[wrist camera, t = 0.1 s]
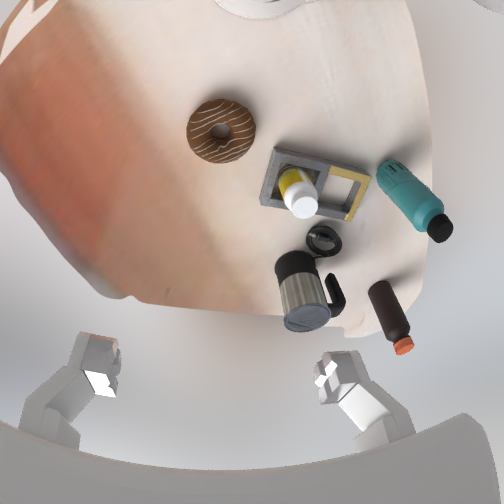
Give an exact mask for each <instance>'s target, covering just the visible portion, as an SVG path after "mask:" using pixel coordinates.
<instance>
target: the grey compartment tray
mask: <svg viewBox="0 0 504 504" xmlns="http://www.w3.org/2000/svg"><path fill="white" fill-rule="evenodd" d="M281 162H282V163H287V164H291V165H296V166H301V167H305V168H310V169H314V170H315V171H314V174H313V176H312V179H311V182H312V184H313V185H314V187H315V189H316V191H317V203H318V209H317V211H316V213H315V214H316V215H322V216H327V217H333V218H338V219H343V220H345V221H349V222H351V221H352V219H353V216H354V214H355V212H356V210H357V208H358V206H359V204H360V202H361V200H362V197H363V195H364V193H365V191H366V189H367V187H368V184H369V182H370V180H371V178H372V177H371V176H370V175H369V174H368V173H367V172H366V171H365V170H362V169H359V168H355V167H352V166H348V165H345V164H341V163H338V162H334V161H330V160H326V159H323V158H319V157H315V156H311V155H307V154H302V153H298V152H294V151H289V150H285V149H280V148H275V147H273V151H272V155H271V158H270V162H269V165H268V169H267V172H266V176H265V180H264V183H263V187H262V190H261V194H260V203H261V205H263V206H269V207H276V208H282V209H288V207H287V206H286V205H285V202H284V200H283V197H282V194H277V193H272V191H273V187H274V184H275V181H276V177H277V174H278V171H279V167H280V164H281ZM328 173H329V174H332V175H336V176H340V177H344V178H347V179H351V180H355V182H354V184H353V186H352V189H351V191H350V193H349V196H348V198H347V200H346V202H345V205H344V206H339V205H334V204H329V203H325V202H320V201H318V199H319V196H320V194H321V191H322V189H323V186H324V183H325V181H326V178H327V176H328ZM288 210H290V209H288Z"/></svg>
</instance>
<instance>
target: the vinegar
mask: <svg viewBox="0 0 504 504" xmlns="http://www.w3.org/2000/svg"><path fill="white" fill-rule="evenodd" d="M368 295H369V298H370V300H371V302H372V305H373V307H374V309H375V312H376V314H377V316H378V319H379V321H380V324H381V326H382V329H383V331H384V333H385V336H386V338H387V340H389V341H392V342H393V343H394V344H393V346H394V349H395V352H396V354H397V355H402V354H405V353H407V352H409V351H410V350H411V349H412V348H413V347H414V344H413V341H412V339H411V337H410V336H409V335H408V333H409V331H410V325H409V323H408V321H407V319H406V316H405V315H404V312H403V310H402V308H401V306H400V304H399V302H398V300H397V298H396V296H395V294H394V292H393V290H392V288H391V286H390V284H389V282H387V281H380V282H377V283H375V284H374V285H373V286H371V288H370V289H369V291H368Z"/></svg>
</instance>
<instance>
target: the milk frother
mask: <svg viewBox="0 0 504 504" xmlns="http://www.w3.org/2000/svg"><path fill="white" fill-rule="evenodd" d="M312 236H313V237H315V238H316V242H317V241H318V240H319V241H326V242H328V241H330V242H334V243H335V247H334V248H332V249H331V250H327V251H325V250H320V249H318V248H317V247H315V246H314V244H313V243H312V239H311V238H312ZM306 244H307V245H308V247H309V249H310V250H311V251H313V252H314V253H316V254H318V255H322V256H316V257H312V255H310V254H309V253H307V252H303V251H294V252H290V253H287V254H285V255H283V256H282V257H281V258H279V260H278V261H277V262H276V264H275V273H276V275H277V278H278V282H279V287H280V293H281V299H282V305H283V310H284V316H285V317H284V325H285V327H286V328H287V329H288V330H290V331H293V332H309V331H313V330H316V329H318V328H320V327H322V326H324V325H325V324H326V323H327V322H328V321H329V319H330V318H333V317H336V316H338V315H339V314H340V313H341V312H342V311H343V309H344V307H345V304H346V299H345V297H344V294H343V292H342V290H341V288H340V286H339V283H338V281H337V279H336V277H335V275H334V274H332V273H329V274H328V275H327V277H326V278H325V284H326V287H327V289H328V292H329V295H330V297H331V300H332V303H327V300H326V297H325V293H324V290H323V287H322V284H321V281H320V277H319V274H318V271H317V269H316V265H315V260H314V259H316V258H326V257H331V256H334V255H336V254H338V253H339V252H340V250H341V248H342V242H341V239H340V237H339V236H338V234H337V233H336V232H335V231H334V230H333V229H331V228H329V227H326V226H316V227H313V228H312V229H311V230H310V231H309V232H308V234H307V237H306Z"/></svg>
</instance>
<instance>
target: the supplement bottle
mask: <svg viewBox="0 0 504 504" xmlns="http://www.w3.org/2000/svg"><path fill="white" fill-rule="evenodd" d="M278 185H279V188H280V191H281V194H282V197H283V200H284V202H285V205H286V206H287V207H288V209H290V210H291V211H293V214H294V215H295V216H296V217H298V218H301V219H306V218H310V217H311V216H313V215H314V214H315V213H316V211H317V209H318V203H317V191H316V189H315V187H314V185H313V184H312V182H311V180H310V178H309V176H308V175H307V173H306V171H305V170H304V169H303V168H301V167H299V166H296V165H291V166H287V167H285V168H284V169H282V170H281V172H280V173H279V175H278Z"/></svg>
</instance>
